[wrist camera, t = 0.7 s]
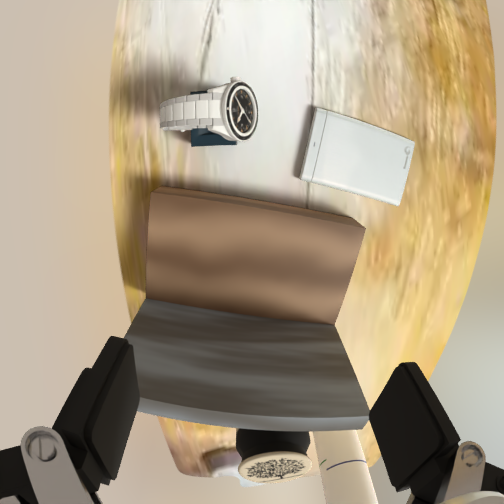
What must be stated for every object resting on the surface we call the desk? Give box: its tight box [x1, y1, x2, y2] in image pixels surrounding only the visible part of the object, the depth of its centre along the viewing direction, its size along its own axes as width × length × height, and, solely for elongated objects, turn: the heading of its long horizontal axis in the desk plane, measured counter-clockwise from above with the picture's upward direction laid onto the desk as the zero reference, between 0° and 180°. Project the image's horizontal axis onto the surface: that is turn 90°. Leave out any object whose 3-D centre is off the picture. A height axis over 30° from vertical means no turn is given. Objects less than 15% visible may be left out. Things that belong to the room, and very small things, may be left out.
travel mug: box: [236, 428, 312, 483], centre depth 32 cm, size 8×8×18 cm
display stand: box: [124, 186, 370, 431], centre depth 26 cm, size 14×22×18 cm, turn 80°
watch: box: [160, 77, 258, 147], centre depth 24 cm, size 6×8×11 cm
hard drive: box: [299, 108, 414, 206], centre depth 30 cm, size 2×8×12 cm
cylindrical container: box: [313, 430, 378, 504], centre depth 34 cm, size 7×7×25 cm
